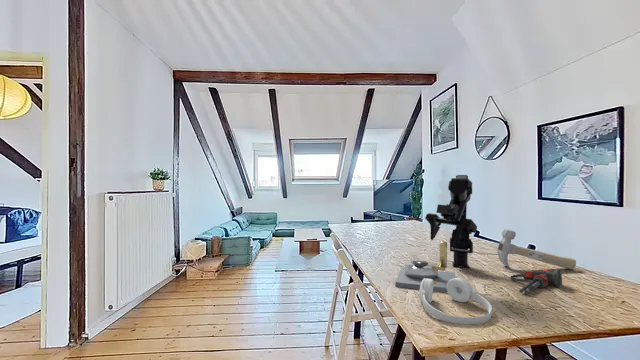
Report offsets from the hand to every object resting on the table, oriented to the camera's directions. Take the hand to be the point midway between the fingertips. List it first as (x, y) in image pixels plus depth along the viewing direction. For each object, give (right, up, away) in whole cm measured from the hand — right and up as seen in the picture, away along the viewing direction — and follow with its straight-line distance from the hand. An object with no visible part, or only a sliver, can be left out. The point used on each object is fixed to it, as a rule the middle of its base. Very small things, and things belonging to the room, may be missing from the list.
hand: (442, 242), depth 121 cm
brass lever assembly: (-6, -12, 0) cm, 14 cm away
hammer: (+47, -15, +17) cm, 52 cm away
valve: (+30, -15, -5) cm, 34 cm away
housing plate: (-6, -14, -2) cm, 16 cm away
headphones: (-7, -15, -27) cm, 32 cm away
